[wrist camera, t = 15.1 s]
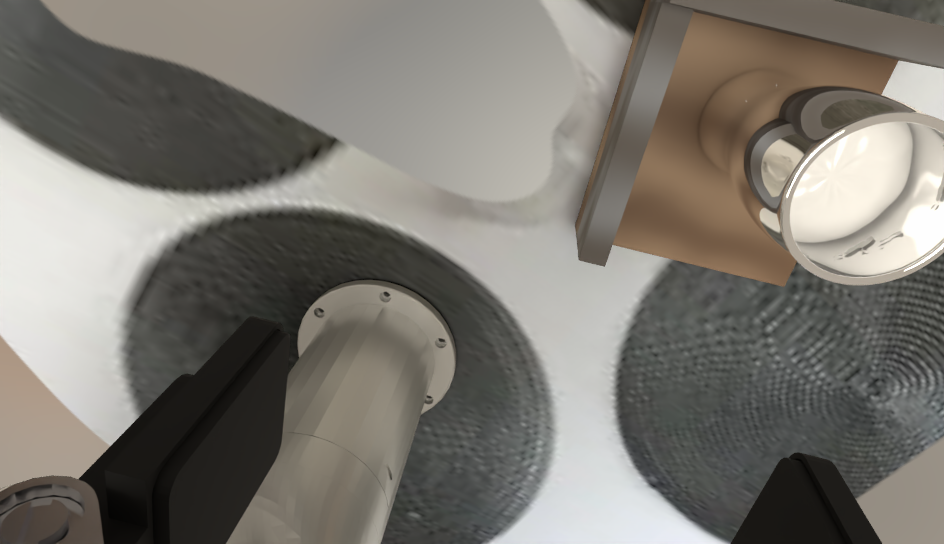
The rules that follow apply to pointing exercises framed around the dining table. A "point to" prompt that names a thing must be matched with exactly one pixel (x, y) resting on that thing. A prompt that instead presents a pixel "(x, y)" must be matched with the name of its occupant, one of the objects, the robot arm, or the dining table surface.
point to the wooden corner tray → (682, 103)
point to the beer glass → (832, 173)
